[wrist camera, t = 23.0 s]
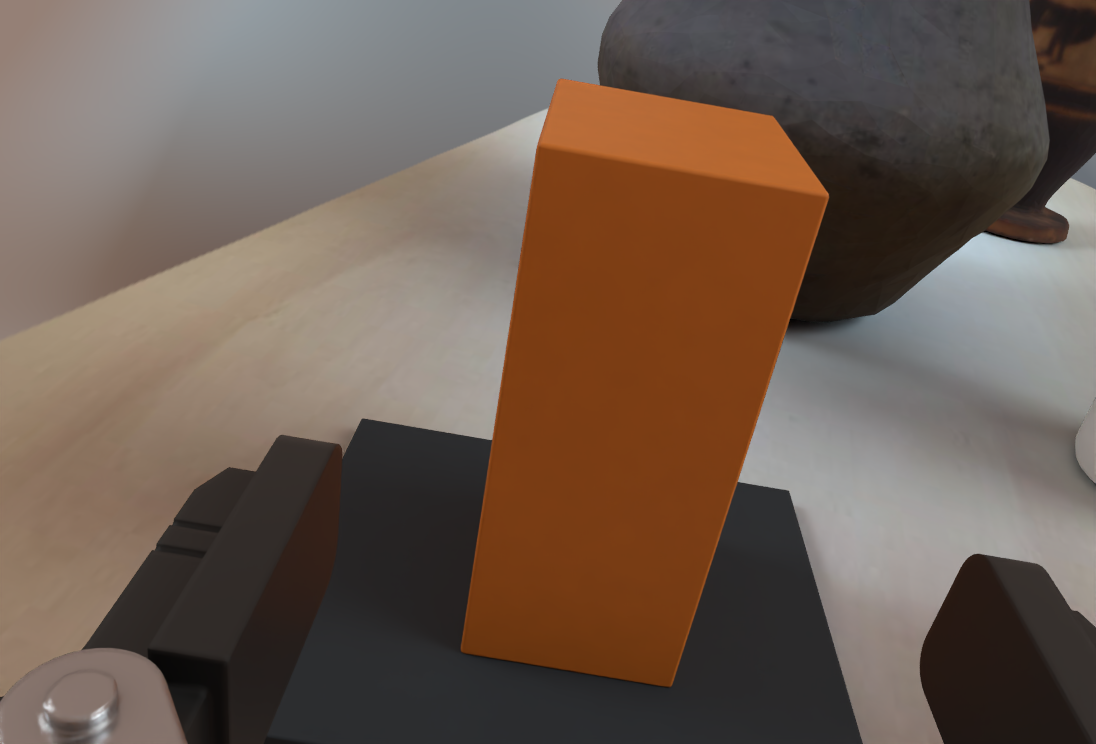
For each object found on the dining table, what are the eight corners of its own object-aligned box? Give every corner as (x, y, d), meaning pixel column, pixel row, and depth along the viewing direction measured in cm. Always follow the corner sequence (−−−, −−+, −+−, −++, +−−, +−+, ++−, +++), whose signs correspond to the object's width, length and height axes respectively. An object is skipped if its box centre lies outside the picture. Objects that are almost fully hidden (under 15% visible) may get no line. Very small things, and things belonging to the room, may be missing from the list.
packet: (459, 654, 20) (537, 142, 15) (491, 498, 26) (558, 77, 20) (672, 689, 21) (832, 194, 15) (660, 527, 26) (775, 115, 20)
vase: (911, 214, 62) (1105, -310, 48) (940, 188, 71) (1112, -265, 56) (1077, 265, 58) (1346, -297, 43) (1087, 230, 66) (1315, -250, 52)
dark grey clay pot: (498, 292, 40) (602, -430, 28) (628, 183, 58) (723, -279, 46) (974, 436, 35) (1348, -362, 23) (951, 268, 53) (1151, -223, 41)
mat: (212, 743, 18) (211, 727, 18) (360, 430, 29) (361, 417, 28) (883, 852, 18) (891, 838, 18) (785, 502, 29) (789, 490, 29)
